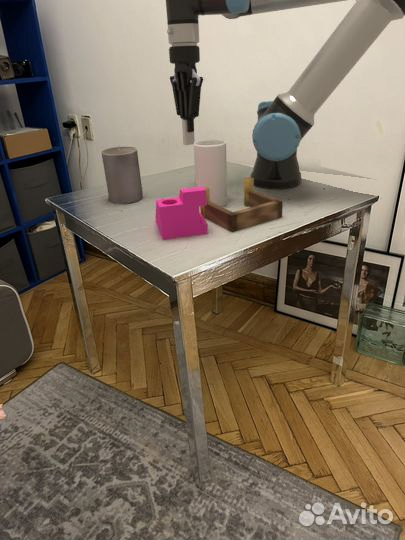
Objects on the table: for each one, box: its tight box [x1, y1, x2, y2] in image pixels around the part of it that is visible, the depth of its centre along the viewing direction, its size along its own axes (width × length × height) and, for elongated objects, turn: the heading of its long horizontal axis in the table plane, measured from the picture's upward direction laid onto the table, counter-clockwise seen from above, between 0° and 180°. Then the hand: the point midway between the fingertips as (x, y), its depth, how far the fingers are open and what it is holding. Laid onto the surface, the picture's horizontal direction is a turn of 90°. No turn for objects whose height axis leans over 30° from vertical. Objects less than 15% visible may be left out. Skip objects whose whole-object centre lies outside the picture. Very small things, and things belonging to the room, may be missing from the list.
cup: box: [193, 138, 228, 208], centre depth 105 cm, size 8×8×16 cm
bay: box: [199, 176, 284, 233], centre depth 97 cm, size 16×13×7 cm
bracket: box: [155, 186, 209, 241], centre depth 92 cm, size 12×10×10 cm
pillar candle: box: [101, 146, 144, 205], centre depth 112 cm, size 10×10×15 cm
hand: (189, 144), depth 109 cm, fingers closed
